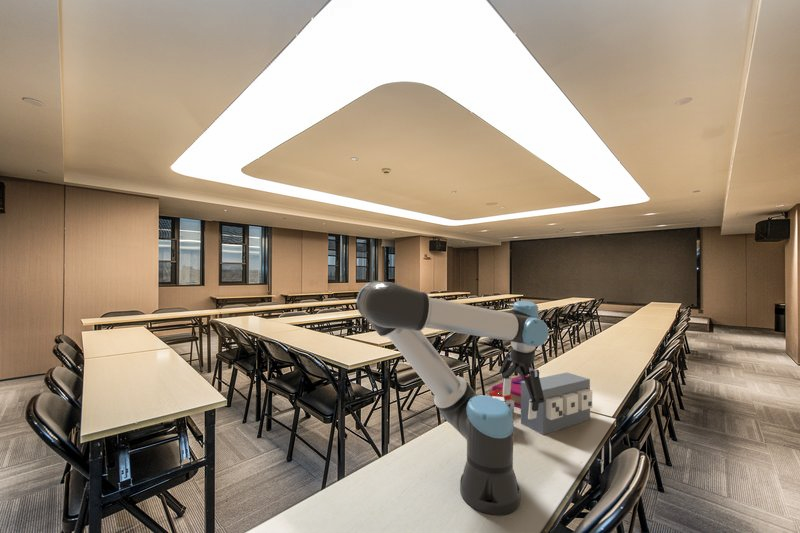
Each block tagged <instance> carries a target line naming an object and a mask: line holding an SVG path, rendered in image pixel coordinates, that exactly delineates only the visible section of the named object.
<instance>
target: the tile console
mask: <svg viewBox="0 0 800 533" xmlns="http://www.w3.org/2000/svg"><path fill="white" fill-rule="evenodd" d="M539 379H540V383H541V387H542V392H543V396H544V400H545V402H543V403H539V407H538V411H537V416H536V418H534V419H530V420H529V419H528V410H529V400H531V398H530V395H529V392H528V389H527V386H526V384H525V381H523V382H521V409H520V424H521V425H523V426H525V427H527V428H529V429H531V430H532V431H535V432H536V433H539V434H540V435H542V436H544V435H547V434H549V433H554V432H555V431H556V432H557V431H559V430H563V429H566V428H568V427H572V426H573V425H577V424H581V423H584V422H586V421H589V420H591V408H589V409H586V410H583V411H582V410H579V409H578V412H576V413H573V414H570V415H565V414H563V417H560V418H557V419H553V420H550V419H547V418H546V398H550V397H554V396H558V397H560V398H562V394H566V393H570V392H573V393H576V394H577V391H578V390H582V389H589V390H591V380H590V378H588V377H583V376H581V375H577V374H573V373H570V372H563V373H556V374H553V375H547V376H543V377H539ZM534 398H535V397H534Z"/></svg>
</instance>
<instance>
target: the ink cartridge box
mask: <svg viewBox="0 0 800 533" xmlns="http://www.w3.org/2000/svg"><path fill="white" fill-rule="evenodd" d="M499 391H501V392H503V389H500V390H492V389H491V390H489V391H488V396H491V397H492V396H497V397H504V398H505V401H506V404H507V405H508V406H509V408H510V409H511V411H512V414H515V407H514V401H513V400H511V390H510V395H507V396H503V394H497V393H498V392H499Z"/></svg>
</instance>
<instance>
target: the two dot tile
mask: <svg viewBox="0 0 800 533" xmlns="http://www.w3.org/2000/svg"><path fill="white" fill-rule="evenodd" d="M577 394H578V409H579V410H582V411H583V410H586V409H589V408H590V409H592V408H593V390H591V389H590V390H589V389H582V390H578V391H577Z"/></svg>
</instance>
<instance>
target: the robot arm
mask: <svg viewBox="0 0 800 533" xmlns="http://www.w3.org/2000/svg"><path fill="white" fill-rule="evenodd" d="M356 307H357V310H358V313H359V314H360V315H361V317H362V318H364V319H365V320H367V322H368V323H369V324H370V325H371V327H372V328H373V329H374V331H376V333H377V334H378V335H379V336H380V337H381V338H382V337H383V338H385V337H386V338H388V339H389V340H390V341H391V343H392V344H393V345H394V347H395V349H397V350H398V351H399V353H400V354H401V356H402V357H403V358H404V359H405V360H406V361H407V363H408V364H409V365H410V366H411V367H412V369H413V370H414V372H415V373H416V374H417V375H418V376H419V378H420V379H421V380H422V381H423V383H424V384H425V385H426V387H427V388H428V389H429V390H430V391H431V393H432V394H433V395H434V397H433V398H434V399H433V401H434V402H433V403H434V404H435V406H436V407H437V410H439V412H440V413H441V415H442V417H443V419H444V420H445V421H446V422H447V423H449V424H450V425H451V426H452V427H453V428H454V429H455V430H456V431H457V432H458V433H459V434H460V435H461V436H462V437H463V438H465V440H466V461H465V465H464V468H463V473H462V474H461V477H460V480H459V492H460V495H461V498H462V499H463V501H464V502H466V503H467V504H468V505H469V506H470V507H471V508H472V509H474V510H477V511H479V512H482V513H485V514H487V515H488V514H489V515H494V516H495V515H496V516H503V515H508V514H511V513H513V512H515V511H517V509H518V508H519V507H520V504H521V490H520V486H519V484H518V481H517V476H516V474H515V470H514V427H515V426H514V425H515V423H514V419H513V413H512V411H511V409H510V408H509V406H508V405H507V404H506V403H504V402H503V401H501V400H499V399H497V398H492V397H490V396H489V395H485V396H483V395H482V394H480V395H481V396H479V395H478V394H477V393H476V392H475V390H474V389H473V388H472V386H470V384H469V383H468V381H466V379H465V377H462V376H457V375H456V374H455V372H454V371H453V370H452V368H450V366H449V365H448V363H447V362H446V361H445V360H444V358H443V357H442V356H441V355H440V353H439V352H438V351H437V350H436V348H435V347H434V345H433V344H432V343H431V342H430V340H429V339H428V338H427V337H426V335H425V334H424V332H423V331H422V330H424V329H425V328H426V329H434V330H439V331H445V332H451V333H458V334H463V335H468V336H469V335H470V336H475V337H483V338H489V339H495V340H502V341H508V342H510V345H511V347H510V352H509V353H506V355H505V359H504V360H503V362H502V365H501V367H500V369H499V372H498V373H499V374H501V376H502V383H503V396H507V395H510V390H511V379H512V375H513V374H514V373H516V374H518V375H519V376H522V379H523V380H524V381H525V384H526V386H527V389H528V392H529V395H530V398H531V400H529V410H528V419H529V420H530V419H534V418H536V416H537V411H538V407H539V403H543V402H545V400H544V396H543V392H542V387H541V383H540V379H539V378H540V370H539V369H534V368H533V366H532V364H533V363H534V361H535V356H536V347H541V346H543V345H544V344H545V343H546V342H547V340H548V337H549V327H548V325H547V323H546V322H545V321H544V320H542V319H540V318H539V306H538V305H537V304H536V303H534V302H532V301H528V300H517V301H515V302H514V303H513V307H512V309H509V310H507V309H506V310H495V309H491V308H485V307H480V306H475V305H469V304H464V303H459V302H453V301H450V300H443V299H440V298H439V299H438V298H433V297H430V296H429V294H428V293H427V292H425V291H424V292H423V291H419V290H415V289H412V288H408V287H406V286H404V285H403V286H402V285H401V284H398V283H394V282H390V281H383V280H373V281H370V282H369V283H367V284H365V285H364V286H363V287H362V288H361V289H360V290H359V292H358V294H357V296H356ZM527 375H529V377H525V376H527ZM534 397H535V398H534Z"/></svg>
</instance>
